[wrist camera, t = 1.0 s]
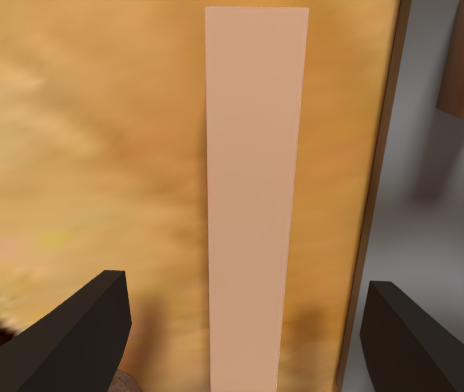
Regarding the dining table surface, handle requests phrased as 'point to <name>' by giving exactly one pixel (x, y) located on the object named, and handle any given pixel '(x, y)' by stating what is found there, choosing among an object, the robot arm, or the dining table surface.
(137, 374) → the dining table surface
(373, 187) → the grey panel
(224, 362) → the clay strip
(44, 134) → the dining table surface
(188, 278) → the dining table surface
